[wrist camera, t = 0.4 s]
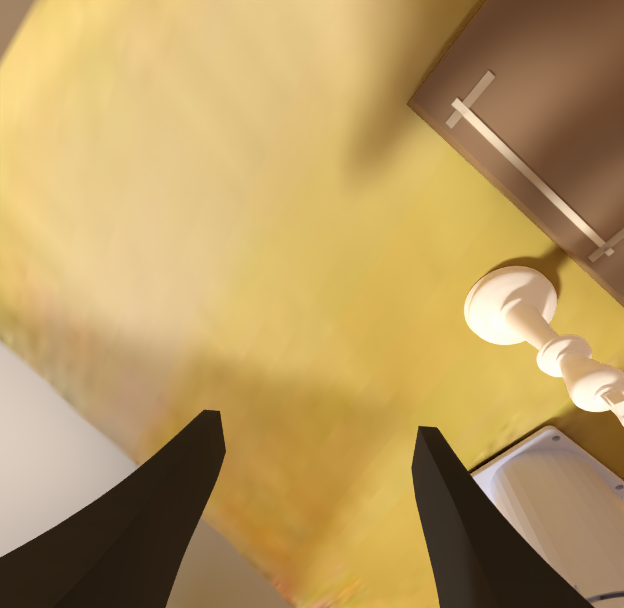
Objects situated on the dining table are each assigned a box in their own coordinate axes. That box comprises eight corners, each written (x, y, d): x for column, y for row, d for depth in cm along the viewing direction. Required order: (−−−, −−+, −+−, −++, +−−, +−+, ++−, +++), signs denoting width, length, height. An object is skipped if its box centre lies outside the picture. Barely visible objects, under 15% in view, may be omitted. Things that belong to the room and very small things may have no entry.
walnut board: (793, 205, 16) (838, 209, 14) (634, 316, 19) (658, 330, 18) (551, -86, 13) (578, -118, 11) (406, 104, 16) (412, 98, 14)
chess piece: (528, 248, 18) (713, 339, 9) (566, 312, 19) (761, 448, 10) (448, 297, 20) (535, 416, 11) (488, 353, 21) (596, 502, 12)
